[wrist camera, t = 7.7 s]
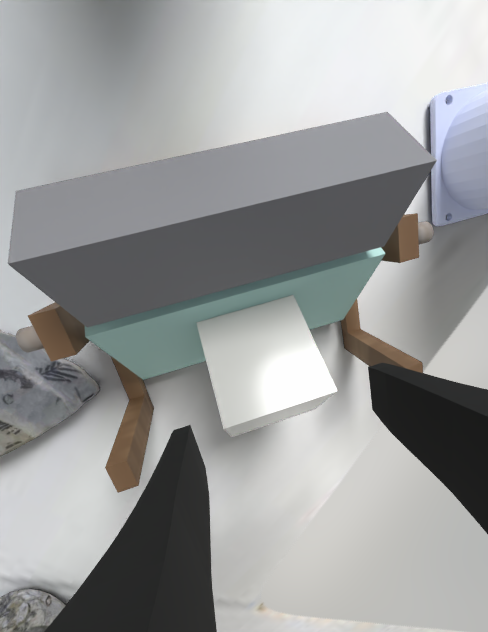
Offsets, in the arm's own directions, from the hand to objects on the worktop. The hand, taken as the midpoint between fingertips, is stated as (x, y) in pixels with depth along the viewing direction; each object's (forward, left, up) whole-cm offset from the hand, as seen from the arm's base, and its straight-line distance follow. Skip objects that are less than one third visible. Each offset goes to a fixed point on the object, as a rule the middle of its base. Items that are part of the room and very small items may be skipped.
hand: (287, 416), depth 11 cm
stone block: (0, -2, -6) cm, 6 cm away
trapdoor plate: (0, -6, -6) cm, 8 cm away
